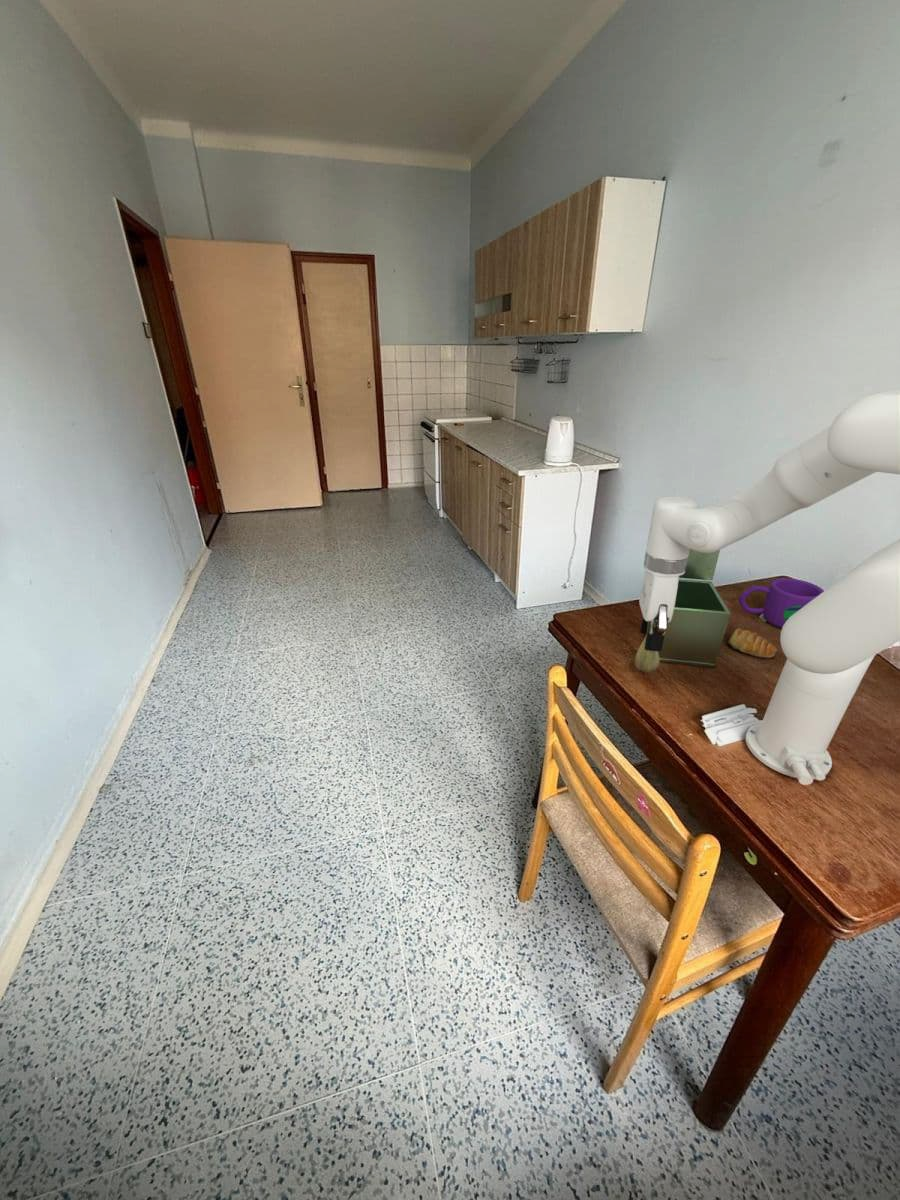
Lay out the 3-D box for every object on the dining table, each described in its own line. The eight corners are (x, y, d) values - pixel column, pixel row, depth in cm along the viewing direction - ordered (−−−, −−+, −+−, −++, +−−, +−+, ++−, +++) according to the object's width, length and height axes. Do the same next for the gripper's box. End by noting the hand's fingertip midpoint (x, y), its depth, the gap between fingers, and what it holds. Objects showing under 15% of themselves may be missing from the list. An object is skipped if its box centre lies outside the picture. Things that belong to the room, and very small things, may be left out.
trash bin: (714, 667, 105) (730, 613, 98) (654, 660, 107) (666, 608, 101) (698, 630, 118) (711, 581, 112) (645, 625, 121) (655, 577, 114)
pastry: (777, 651, 110) (783, 637, 108) (769, 663, 106) (774, 649, 104) (734, 636, 116) (738, 623, 114) (724, 647, 112) (728, 634, 110)
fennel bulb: (641, 658, 105) (649, 611, 100) (663, 667, 102) (672, 619, 97) (628, 669, 102) (636, 621, 96) (650, 679, 99) (659, 630, 93)
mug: (804, 614, 124) (817, 580, 120) (818, 636, 115) (833, 600, 110) (730, 605, 129) (740, 572, 125) (737, 625, 120) (748, 590, 115)
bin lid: (729, 512, 104) (728, 511, 105) (669, 509, 107) (668, 508, 107) (712, 580, 111) (711, 579, 112) (655, 576, 114) (655, 575, 114)
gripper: (638, 545, 99) (627, 620, 107) (651, 579, 84) (636, 663, 92) (677, 547, 98) (662, 623, 106) (696, 582, 83) (677, 666, 91)
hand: (650, 640), depth 99 cm, fingers closed on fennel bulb, 5 cm apart
